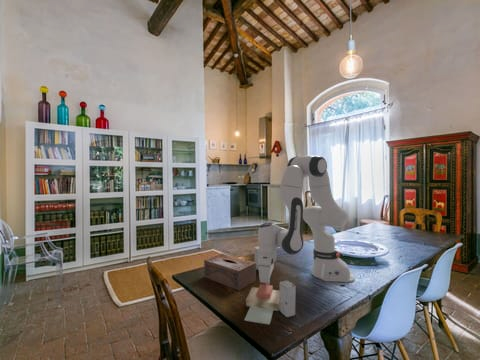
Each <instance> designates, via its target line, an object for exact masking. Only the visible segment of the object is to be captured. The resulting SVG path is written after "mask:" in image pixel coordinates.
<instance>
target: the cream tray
mask: <svg viewBox="0 0 480 360" xmlns="http://www.w3.org/2000/svg"><path fill="white" fill-rule="evenodd" d="M258 288H259V287H255V286H254V287H253V286H252V287H251V288H250V291H249V293H248V295H247V297H246V299H245V307H249V308H250V306H253V307H260V308H267V309H273V312H274V311H276V312H279V311H280V310H279V291H280V289H277V290H276V289H273V291H272V294H271V297H270V299H265V298H257V297H256V293H257V290H258Z"/></svg>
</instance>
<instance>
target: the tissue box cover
mask: <svg viewBox="0 0 480 360" xmlns="http://www.w3.org/2000/svg"><path fill="white" fill-rule="evenodd" d="M203 265H204V267H203V268H204V270H203V271H204V272H203V273H204V278H206V279H209V280H211V281H213V282H217V283H219V284H221V285H224V286H227V287H229V288H232V289H235V290H237V291H241V290H243V289H245V287H247V286H249V285H251V284H252V283H254V282H256V281H257V269H256V263H255V261H250V260H247V259H243V258H239V257H236V256H233V255H229V254H225V253H220V254H217V255H214V256H211V257H209V258H206V259H204V260H203Z"/></svg>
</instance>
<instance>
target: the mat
mask: <svg viewBox="0 0 480 360" xmlns="http://www.w3.org/2000/svg"><path fill="white" fill-rule="evenodd" d="M273 313H274V310H273V309H267V308H260V307H253V306H250V307H249V309H248V311H247V313H246V316H245V317H244V321H246V322H251V323H256V324H257V323H258V324H264V325H268V326H269V325H271V322H272V317H273Z"/></svg>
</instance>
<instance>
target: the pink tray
mask: <svg viewBox="0 0 480 360" xmlns="http://www.w3.org/2000/svg"><path fill="white" fill-rule="evenodd" d="M257 288H258V290H257V293H256V297H257V298H265V299H270V297H271V294H272V291H273V290H274V286H273V285H270V284H269V285H265V283H260V284H259V286H258V287H257Z"/></svg>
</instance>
